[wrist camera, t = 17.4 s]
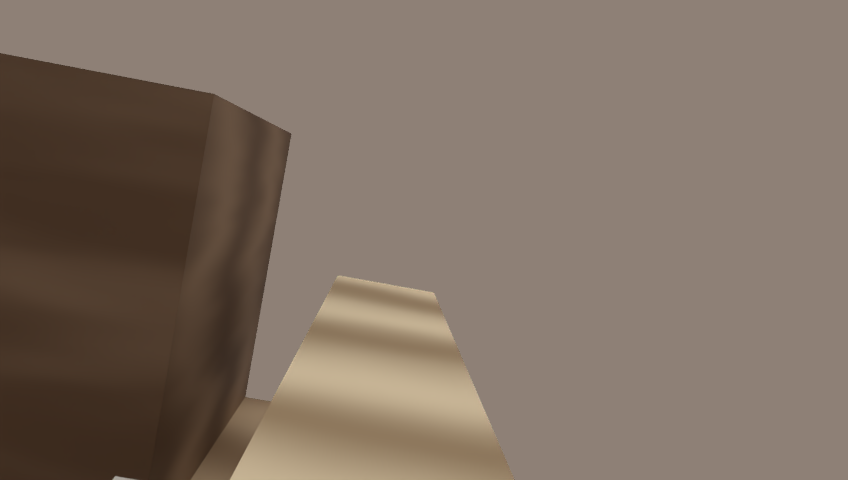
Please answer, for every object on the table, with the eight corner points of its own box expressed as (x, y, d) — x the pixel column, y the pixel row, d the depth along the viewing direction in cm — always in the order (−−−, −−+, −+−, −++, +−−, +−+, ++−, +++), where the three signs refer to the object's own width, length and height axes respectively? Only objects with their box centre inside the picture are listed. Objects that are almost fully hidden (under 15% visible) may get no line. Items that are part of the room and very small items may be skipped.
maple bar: (513, 955, 7) (578, 630, 7) (124, 903, 7) (182, 567, 7) (418, 375, 29) (433, 292, 28) (323, 358, 28) (337, 275, 28)
